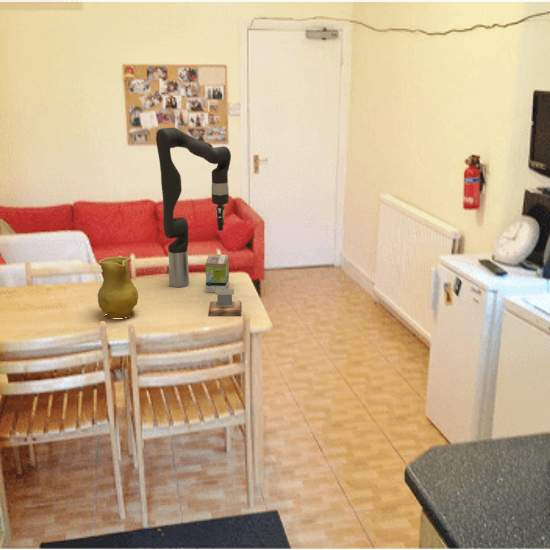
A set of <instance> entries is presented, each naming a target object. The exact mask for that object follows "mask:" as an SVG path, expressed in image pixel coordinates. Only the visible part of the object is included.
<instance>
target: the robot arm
mask: <svg viewBox="0 0 550 550" xmlns="http://www.w3.org/2000/svg"><path fill="white" fill-rule="evenodd" d="M155 142H156V143H155V144H156V148H157V154H158V161H159V168H160V183H161V184H160V185H161V192H162V193H161V195H162V205H163V206H162V208H163V211H162V213H163V216H162V217H163V218H162V219H163V225H162V226H163V233H164V236H165V237H166V238H167V239H170V240H171V239H175V240H174V241H172V242H171V243H170V244H168V246H167V248H168V251H167V254H168V283H169V285H168V287H173V286H174V287H175V288H184V287H187V286H189V284H190V276H189V275H190V274H189V256H188V254H189V252H188V248H189V224H188V220H187V218H185V217H182V216H181V217H180V216H179V217H175V218H174V211H175V207H176V204H177V203H178V200H179V199H180V197H181V194H182V190H183V189H182V178H181V174H180V172H179V170H178V169H177V167H176V166H175V163H174V162H173V160H172V155H171V149H175V148H184V149H187V151H188V152H189V153H190V154H191V155H194V156H196V157H200V158H202V159H204V160H205V161H207V162H208V163H210V164H212V165H216V167H215V168H214V169H213V170H212V171H211V203H212V204H213V205H217V206H215V213H216V214H215V215H216V216H215V217H216V222H217V230H218V231H220V232H221V231H224V224H225V214H226V206H225V205H226V204H229V202H230V196H229V194H230V193H229V192H230V191H229V177H228V176H229V175H228V173H229V169H230V163H231V158H232V155H231V150H230V148H228V147H227V146H217V147H214V146H213V145H212V144H211V143H209V142H206V141H203V140H200V139H197V138H195V137H193V136H191V135H188V134H187V133H185V132H184V131H182V130H181V129H179V128H177V127H165V128H160V129H158V130H157V132H156V134H155ZM174 287H173V288H174Z"/></svg>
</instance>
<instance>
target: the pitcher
mask: <svg viewBox="0 0 550 550" xmlns="http://www.w3.org/2000/svg"><path fill="white" fill-rule="evenodd" d="M130 261H131V258H130V257H128V256H110V257H104V258H103V259H100V260H99V261H98V264H99V266H100V267H101V271H102V272H101V274H102V278H103V281H102V284H101V287H100V288H99V289H98V293H97V304H98V307H99V308H100V309H101V311H102V312H103V313H104V315H105V314H107V315H105V316H104V318H106V317H107V318H125V317H129V316H131V317H132V316H133V315H134V311H133V309H134V308H135V307H136V306H137V305H138V303H139V302H138V300H139V291H138V289H137V287H136V286H135V285H134V283H133V281H132V278H131V276H130V275H131V274H130V267H129V266H130V263H131V262H130ZM132 314H133V315H132ZM107 318H106V319H107Z"/></svg>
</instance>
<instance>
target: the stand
mask: <svg viewBox="0 0 550 550" xmlns="http://www.w3.org/2000/svg"><path fill="white" fill-rule="evenodd" d="M216 301H217V300H216ZM216 301H214V300H213V301H212V300H211V301H209V307H208V317H241V316H242V301H240V300H233V301H234V308H216Z"/></svg>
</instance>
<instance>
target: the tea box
mask: <svg viewBox="0 0 550 550" xmlns="http://www.w3.org/2000/svg"><path fill="white" fill-rule="evenodd" d="M229 257H230V256H229V255H228V254H209V255H208V256H207V260H206V262H205V293H215V291H216V289H228V286H229V283H230V277H229V276H230V272H229V271H230V269H229V268H230V267H229V265H230V264H229V263H230V262H229V259H230V258H229Z"/></svg>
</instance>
